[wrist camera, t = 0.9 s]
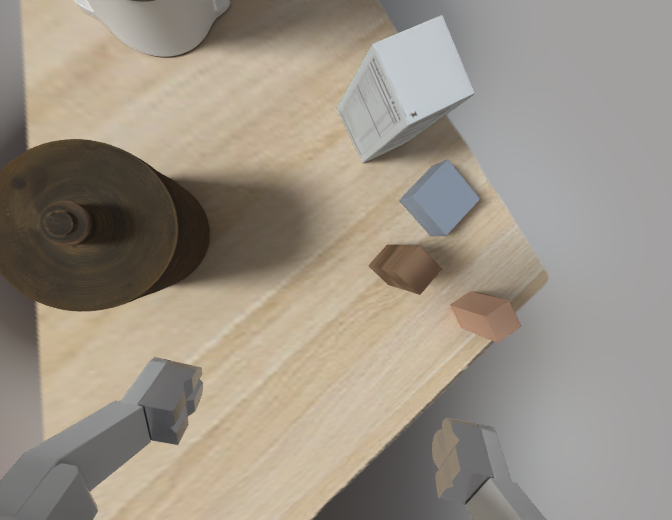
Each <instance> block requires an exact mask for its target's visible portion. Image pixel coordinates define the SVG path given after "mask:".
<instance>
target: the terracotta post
mask: <svg viewBox="0 0 672 520" xmlns="http://www.w3.org/2000/svg"><path fill="white" fill-rule="evenodd" d="M450 306H451V308H452V310H453V312H454V314H455V316H456V318H457V320H458V322H459V324H460V326H461V328H463V329H466V330H468V331H471V332H473V333H475V334H478V335H480V336H483V337H485V338H488V339H490V340H492V341H495V342H497V343H498V342H500V341H501V340H502V339H504V338H505V337H507V336H508V335H510V334H511V333H512V332H514V331H515V330H517V329H518V328H520V327H521V325H520V323H519V321H518V318H517V316H516V314H515V312H514V309H513V307H512V305H511V303H510V301H509V300H506V299H501V298H497V297H492V296H488V295H484V294H479V293H475V292H470V293H468V294H467V295H465V296H463V297H462V298H460V299H459V300H457V301H456V302H454V303H453V304H451V305H450Z"/></svg>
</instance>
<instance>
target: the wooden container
mask: <svg viewBox="0 0 672 520" xmlns="http://www.w3.org/2000/svg"><path fill="white" fill-rule="evenodd" d="M208 244H209V225H208V221H207V217H206V215H205V212H204V211H203V209H202V207H201V206H200V204H199V203H198V201H197V200H196V199H195V198H194V197H193V196H192V195H191V194H190V193H189V192H188V191H187V190H185V189H184V188H183V187H181V186H180V185H179V184H177V183H176V182H174V181H173V180H171V179H170V178H168V177H166V176H165V175H163V174H161V173H160V172H158V171H156V170H155V169H154V168H152V167H151V166H150V165H148V164H147V163H145V162H144V161H142V160H141V159H139V158H138V157H136V156H134V155H132V154H130V153H128V152H126V151H124V150H122V149H120V148H117V147H115V146H112V145H109V144H106V143H102V142H97V141H91V140H83V139H69V140H59V141H53V142H49V143H45V144H42V145H39V146H36V147H34V148H31V149H29V150H27V151H25V152H23V153H22V154H20V155H19V156H18V157H17V158H14V159H13V160H12V161H11V162H9V163H8V164H7V165H6V166H5V167H4V168H3V169H2V170H1V171H0V273H1V275H2V276H3V277H4V278H5V279H6V280H7V281H8V282H9V283H10V284H11V285H12V286H13V287H14V288H16V289H17V290H18V291H20V292H21V293H23V294H24V295H26V296H28V297H29V298H31V299H33V300H35V301H37V302H39V303H42V304H44V305H47V306H50V307H54V308H57V309H62V310H68V311H97V310H103V309H108V308H113V307H116V306H120V305H123V304H126V303H128V302H131V301H133V300H135V299H138V298H140V297H143V296H146V295H149V294H152V293H155V292H157V291H160V290H162V289H164V288H167V287H169V286H171V285H173V284H175V283H177V282H179V281H181V280H182V279H184V278H186V277H187V276H188V275H190V274H191V273H192V272H193V271H194V270H195V269H196V268H197V267H198V266H199V264H200V263H201V261H202V260H203V258H204V256H205V254H206V251H207V248H208Z"/></svg>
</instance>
